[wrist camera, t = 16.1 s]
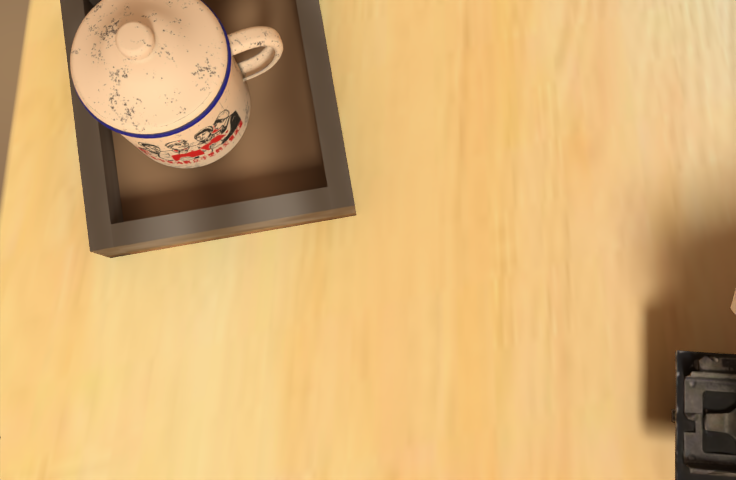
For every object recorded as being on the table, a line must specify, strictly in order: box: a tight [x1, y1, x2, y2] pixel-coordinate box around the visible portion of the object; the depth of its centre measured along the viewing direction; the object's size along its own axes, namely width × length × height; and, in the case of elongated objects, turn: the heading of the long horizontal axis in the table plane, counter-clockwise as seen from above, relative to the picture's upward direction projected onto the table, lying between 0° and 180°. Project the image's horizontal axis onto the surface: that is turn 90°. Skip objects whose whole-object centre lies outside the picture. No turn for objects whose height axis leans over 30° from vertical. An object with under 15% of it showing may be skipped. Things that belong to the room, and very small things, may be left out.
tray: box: [60, 0, 356, 258], centre depth 47 cm, size 17×19×4 cm
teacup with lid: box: [70, 0, 283, 168], centre depth 42 cm, size 12×9×12 cm
